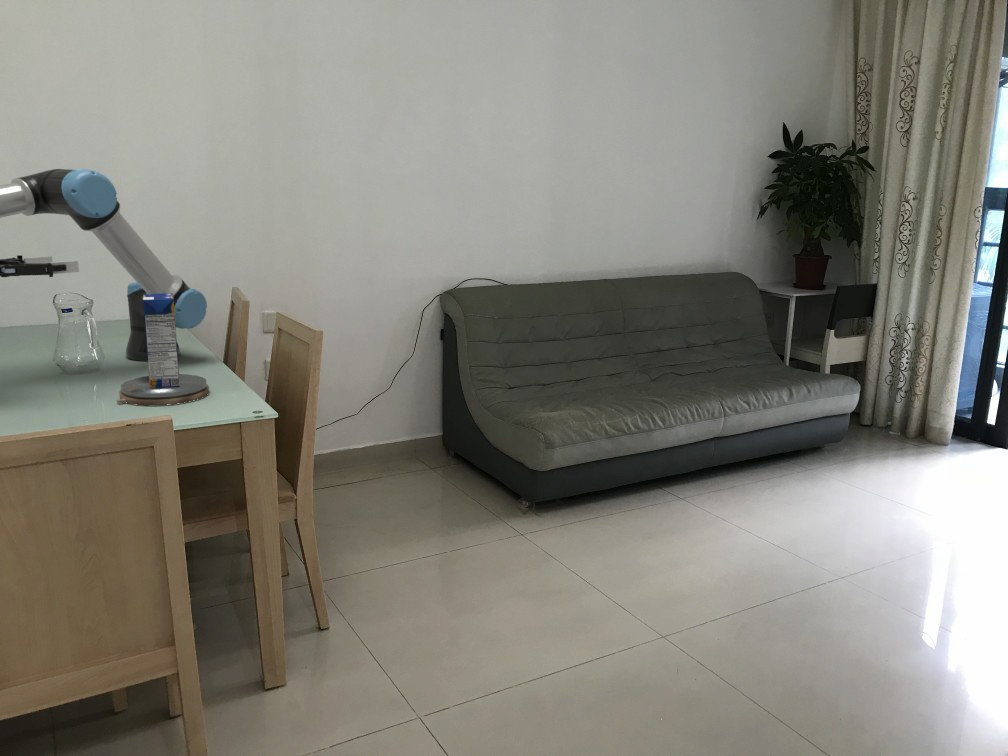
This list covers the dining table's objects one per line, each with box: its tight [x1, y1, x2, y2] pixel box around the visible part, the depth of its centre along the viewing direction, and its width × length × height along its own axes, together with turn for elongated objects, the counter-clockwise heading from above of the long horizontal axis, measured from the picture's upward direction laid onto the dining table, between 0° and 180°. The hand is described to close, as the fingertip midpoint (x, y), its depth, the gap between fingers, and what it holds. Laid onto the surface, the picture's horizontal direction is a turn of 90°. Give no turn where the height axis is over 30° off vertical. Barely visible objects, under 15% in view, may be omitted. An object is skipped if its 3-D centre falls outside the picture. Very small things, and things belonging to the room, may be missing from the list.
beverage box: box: [143, 293, 180, 389], centre depth 203 cm, size 7×11×22 cm, turn 23°
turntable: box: [120, 373, 208, 399], centre depth 205 cm, size 20×20×2 cm
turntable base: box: [116, 384, 210, 406], centre depth 205 cm, size 23×21×2 cm
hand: (64, 264), depth 204 cm, fingers open, 13 cm apart
